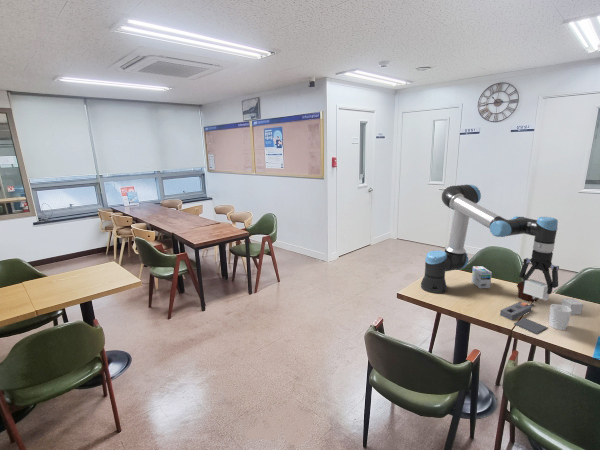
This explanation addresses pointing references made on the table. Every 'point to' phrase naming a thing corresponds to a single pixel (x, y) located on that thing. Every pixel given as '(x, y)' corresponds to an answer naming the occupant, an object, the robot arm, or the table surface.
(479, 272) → the light bulb box
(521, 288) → the muffin
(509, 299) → the table surface
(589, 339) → the table surface
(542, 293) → the block
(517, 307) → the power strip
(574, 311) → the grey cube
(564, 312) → the white cup
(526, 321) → the mat
